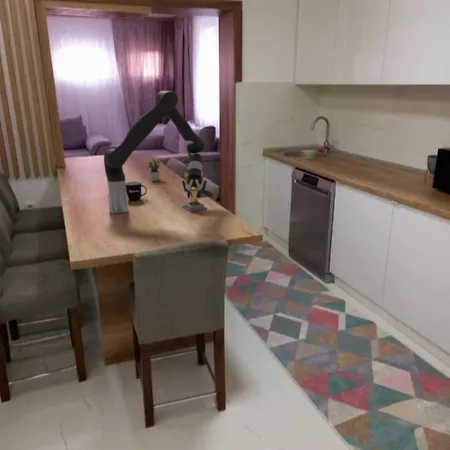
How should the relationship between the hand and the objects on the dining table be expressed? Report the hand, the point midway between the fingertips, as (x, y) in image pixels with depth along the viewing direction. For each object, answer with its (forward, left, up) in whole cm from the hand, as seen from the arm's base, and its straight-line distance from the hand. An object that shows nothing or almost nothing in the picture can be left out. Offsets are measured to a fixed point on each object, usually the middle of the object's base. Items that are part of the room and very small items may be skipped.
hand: (194, 197), depth 234 cm
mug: (-20, +37, -7) cm, 42 cm away
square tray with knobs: (+1, +2, -7) cm, 7 cm away
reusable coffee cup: (+19, +40, -7) cm, 44 cm away
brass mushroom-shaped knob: (+1, +2, -6) cm, 6 cm away
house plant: (+9, +80, -7) cm, 80 cm away
